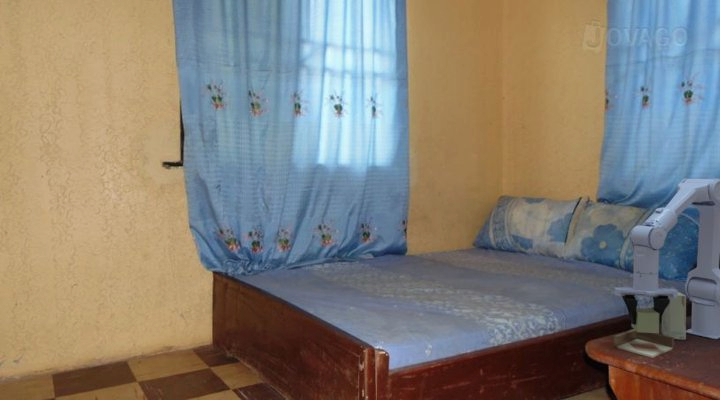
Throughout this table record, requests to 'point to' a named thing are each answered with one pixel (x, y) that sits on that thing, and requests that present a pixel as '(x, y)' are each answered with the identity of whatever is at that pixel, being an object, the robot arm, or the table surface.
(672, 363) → the table surface
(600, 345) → the table surface
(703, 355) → the table surface
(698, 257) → the robot arm
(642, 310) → the olive cube
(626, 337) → the arena
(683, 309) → the skincare box
